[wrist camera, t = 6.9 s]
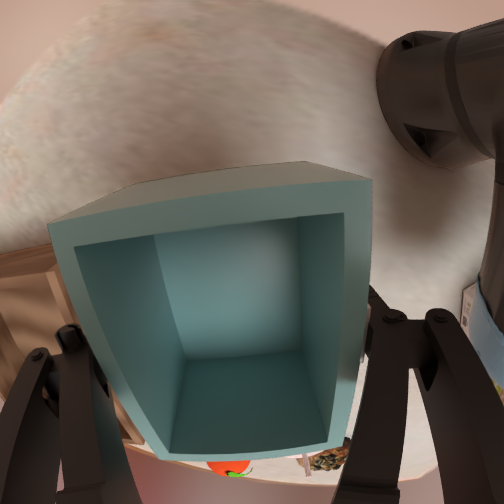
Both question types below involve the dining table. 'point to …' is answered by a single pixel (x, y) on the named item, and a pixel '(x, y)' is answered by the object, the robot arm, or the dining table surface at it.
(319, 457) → the bread roll
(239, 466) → the clementine
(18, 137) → the dining table surface
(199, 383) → the teal crate
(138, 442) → the walnut crate
